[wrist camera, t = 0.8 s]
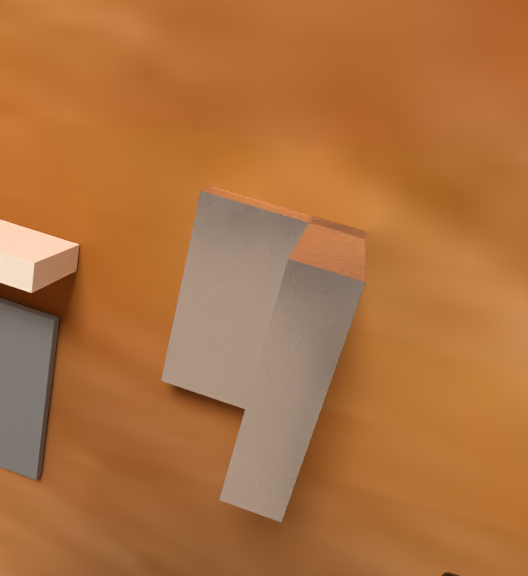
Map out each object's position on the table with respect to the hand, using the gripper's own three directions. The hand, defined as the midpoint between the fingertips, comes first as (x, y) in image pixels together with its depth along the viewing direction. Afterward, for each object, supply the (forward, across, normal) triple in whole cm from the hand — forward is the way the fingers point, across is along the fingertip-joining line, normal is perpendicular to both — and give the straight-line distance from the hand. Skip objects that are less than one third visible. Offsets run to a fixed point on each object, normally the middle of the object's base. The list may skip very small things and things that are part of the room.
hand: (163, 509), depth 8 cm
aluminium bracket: (+12, +1, +1) cm, 12 cm away
